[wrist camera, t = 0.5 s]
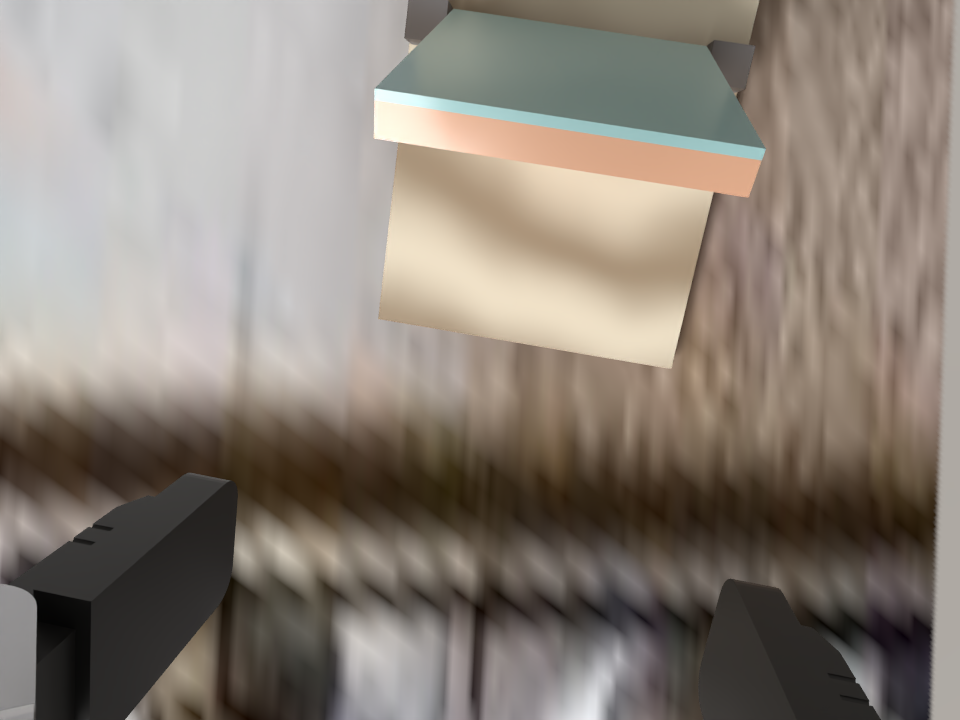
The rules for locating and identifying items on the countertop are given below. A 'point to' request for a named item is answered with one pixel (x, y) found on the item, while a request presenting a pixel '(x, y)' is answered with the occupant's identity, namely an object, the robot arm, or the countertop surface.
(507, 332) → the board
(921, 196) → the countertop surface
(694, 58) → the tile
